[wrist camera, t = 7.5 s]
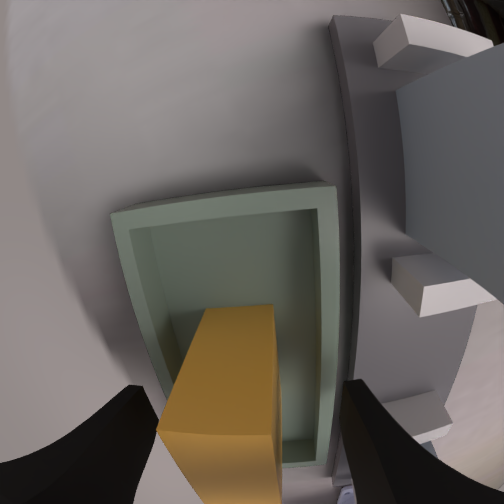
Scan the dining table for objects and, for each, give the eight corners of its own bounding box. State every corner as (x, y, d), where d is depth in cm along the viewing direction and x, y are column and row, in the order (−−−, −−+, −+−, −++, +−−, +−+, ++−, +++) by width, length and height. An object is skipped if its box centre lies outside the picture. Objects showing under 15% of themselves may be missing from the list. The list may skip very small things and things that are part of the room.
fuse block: (406, 460, 15) (417, 494, 12) (331, 476, 16) (335, 514, 12) (457, 45, 7) (503, 23, 4) (328, 26, 8) (349, -22, 4)
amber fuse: (281, 395, 12) (281, 508, 7) (226, 397, 13) (205, 505, 7) (273, 303, 11) (271, 434, 5) (205, 308, 11) (155, 429, 5)
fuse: (460, 229, 9) (575, 294, 3) (405, 234, 9) (521, 318, 3) (454, 98, 7) (577, 76, 2) (395, 90, 8) (518, 37, 2)
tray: (322, 437, 14) (326, 464, 12) (205, 441, 15) (199, 466, 13) (324, 180, 10) (336, 185, 8) (135, 204, 10) (110, 213, 8)
